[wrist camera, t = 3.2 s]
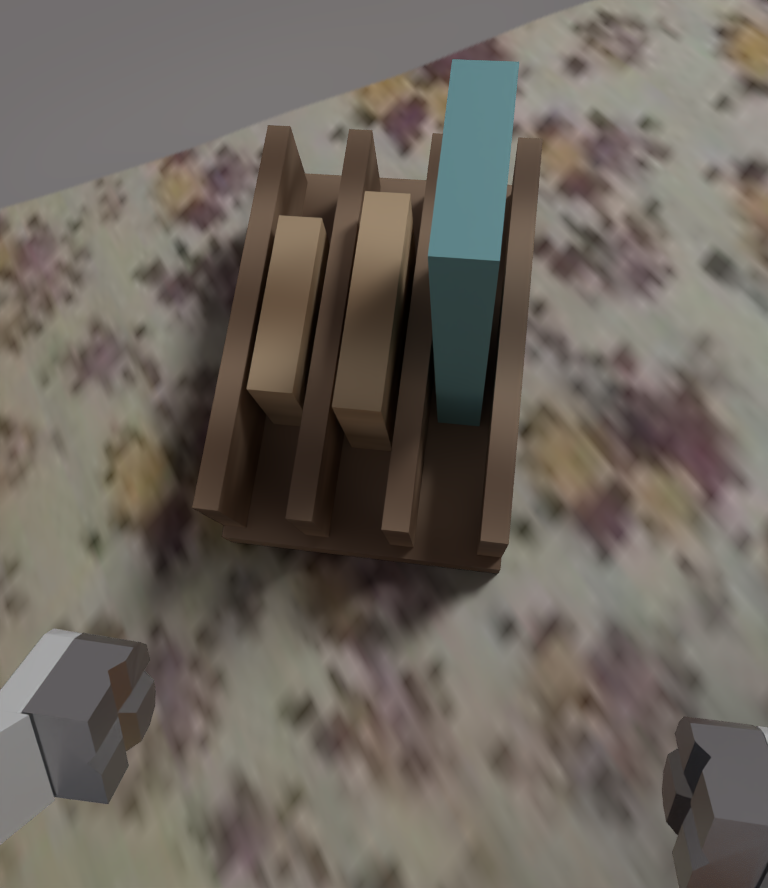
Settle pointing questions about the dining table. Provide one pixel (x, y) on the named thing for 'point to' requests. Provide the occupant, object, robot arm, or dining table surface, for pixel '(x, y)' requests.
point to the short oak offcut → (376, 322)
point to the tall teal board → (469, 231)
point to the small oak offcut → (289, 318)
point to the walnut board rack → (416, 426)
